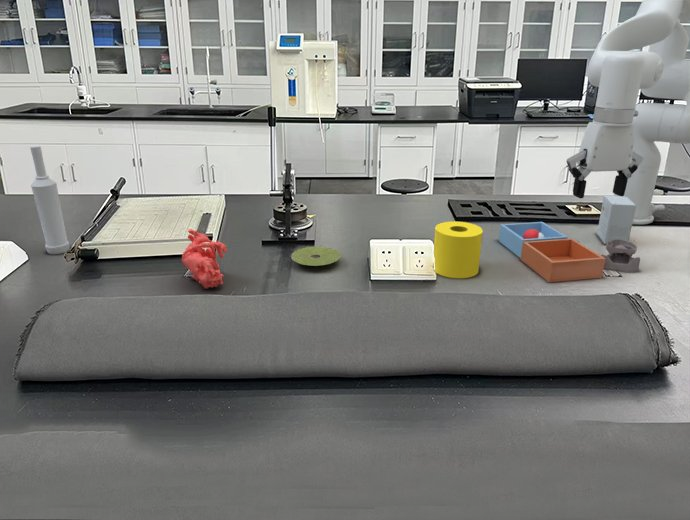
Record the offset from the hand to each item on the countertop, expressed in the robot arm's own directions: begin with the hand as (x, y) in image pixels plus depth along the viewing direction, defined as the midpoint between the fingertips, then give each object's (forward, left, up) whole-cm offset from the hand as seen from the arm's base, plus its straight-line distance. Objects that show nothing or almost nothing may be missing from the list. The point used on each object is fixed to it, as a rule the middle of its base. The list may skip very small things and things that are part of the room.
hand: (598, 195), depth 118 cm
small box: (-14, -10, -15) cm, 23 cm away
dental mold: (-5, +5, -15) cm, 17 cm away
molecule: (+9, -9, -15) cm, 19 cm away
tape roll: (+32, 0, -15) cm, 36 cm away
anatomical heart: (+86, -3, -15) cm, 88 cm away
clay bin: (+9, +4, -15) cm, 18 cm away
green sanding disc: (+62, -9, -15) cm, 65 cm away
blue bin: (+9, -9, -15) cm, 20 cm away
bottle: (+122, -28, -15) cm, 126 cm away
